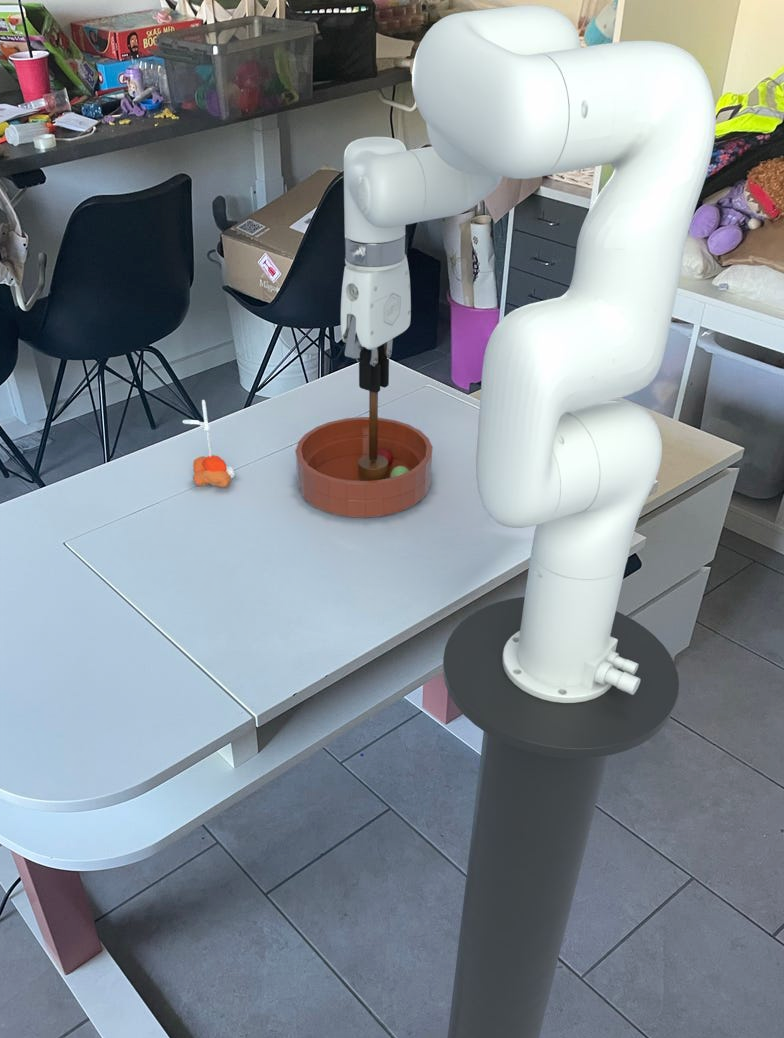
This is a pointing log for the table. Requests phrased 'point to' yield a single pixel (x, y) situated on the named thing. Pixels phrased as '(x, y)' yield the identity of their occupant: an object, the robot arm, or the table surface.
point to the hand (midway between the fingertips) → (373, 386)
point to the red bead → (386, 455)
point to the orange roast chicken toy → (210, 462)
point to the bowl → (334, 467)
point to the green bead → (398, 471)
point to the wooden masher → (373, 447)
